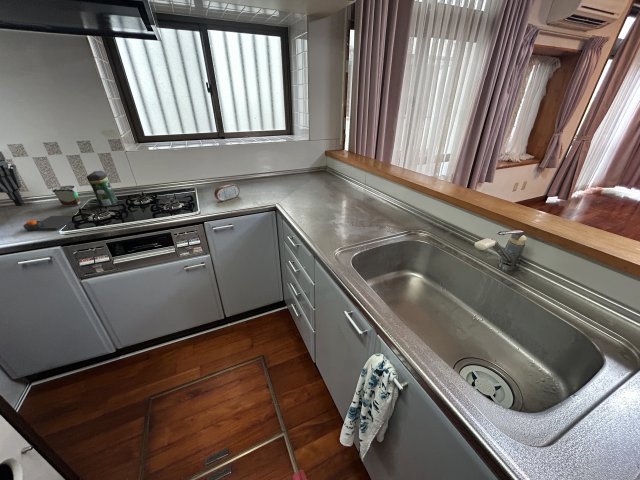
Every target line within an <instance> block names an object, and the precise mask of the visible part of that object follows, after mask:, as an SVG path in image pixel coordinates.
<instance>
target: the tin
mask: <svg viewBox="0 0 640 480" xmlns="http://www.w3.org/2000/svg"><path fill="white" fill-rule="evenodd" d="M240 190H241V189H240V187H239V186H238V185H237V184H235V183H228V184H223V185H219V186H218V187H217V188H215V190H214V191H213V192H214V193H213V194H214V198H215V199H216V200H218V201H220V202H225V201H226V202H227V201H229V200H232V199H236V198H237V197H238V196H239V195H240V192H241V191H240Z"/></svg>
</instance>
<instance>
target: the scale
mask: <svg viewBox="0 0 640 480" xmlns="http://www.w3.org/2000/svg"><path fill="white" fill-rule="evenodd" d="M75 215H76V214H75ZM75 215H50V216H49V217H46V218H44V219H42V220H36V222H37V223H36V224H34V225H27V223H26V222H25V223H24V224H23V225H22V227H23V229H24V230H26V231H27V232H41V231H42V232H47V231H48V232H50V231H53V232H54V231H60V230H61V229H63V228H64V226H65V225H66V226H68V225H69V224H68V223H70V222H71V221H72V217H73V216H75ZM67 224H68V225H67ZM70 224H71V223H70ZM66 226H65V227H66Z"/></svg>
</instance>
